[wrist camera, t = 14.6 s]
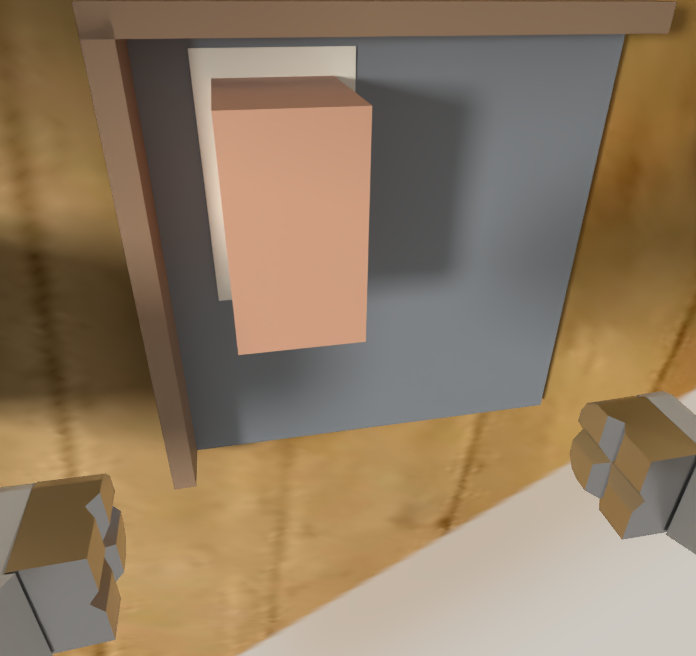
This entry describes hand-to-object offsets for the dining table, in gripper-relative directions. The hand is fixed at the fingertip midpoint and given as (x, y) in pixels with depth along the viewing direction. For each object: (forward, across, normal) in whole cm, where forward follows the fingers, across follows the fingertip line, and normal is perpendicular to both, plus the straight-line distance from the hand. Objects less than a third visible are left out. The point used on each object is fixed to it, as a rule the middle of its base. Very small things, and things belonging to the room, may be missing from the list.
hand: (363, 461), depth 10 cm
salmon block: (+16, 0, 0) cm, 16 cm away
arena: (+16, -4, +4) cm, 17 cm away
